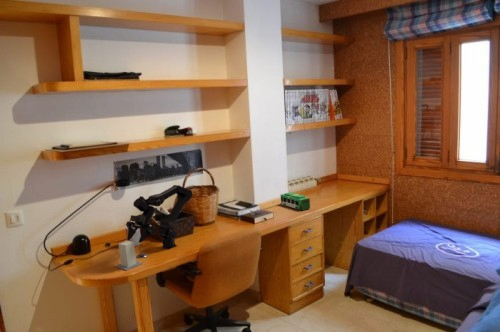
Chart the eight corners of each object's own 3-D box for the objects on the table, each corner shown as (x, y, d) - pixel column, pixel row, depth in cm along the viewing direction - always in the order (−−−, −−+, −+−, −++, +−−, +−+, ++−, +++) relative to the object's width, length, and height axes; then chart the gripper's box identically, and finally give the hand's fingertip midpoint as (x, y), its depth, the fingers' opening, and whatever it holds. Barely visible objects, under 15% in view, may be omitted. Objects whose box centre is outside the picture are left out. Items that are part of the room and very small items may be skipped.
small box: (126, 244, 250) (124, 227, 248) (135, 241, 253) (133, 225, 252) (133, 246, 244) (131, 230, 242) (141, 244, 248) (139, 227, 246)
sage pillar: (129, 261, 219) (126, 240, 217) (136, 263, 216) (133, 241, 214) (121, 265, 214) (118, 243, 212) (128, 267, 211) (125, 245, 209)
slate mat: (131, 260, 222) (131, 259, 222) (142, 264, 215) (142, 263, 215) (115, 266, 214) (115, 265, 214) (126, 270, 208) (126, 269, 208)
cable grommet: (143, 253, 231) (143, 252, 231) (149, 255, 227) (149, 254, 227) (134, 256, 227) (134, 256, 227) (140, 258, 223) (140, 258, 223)
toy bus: (292, 202, 323) (291, 190, 322) (310, 209, 299) (310, 196, 297) (280, 205, 319) (279, 192, 317) (298, 212, 295) (297, 199, 293)
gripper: (126, 207, 224) (112, 232, 217) (149, 210, 214) (135, 236, 206) (138, 216, 232) (125, 241, 224) (162, 220, 221) (149, 246, 214)
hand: (133, 241), depth 217 cm, fingers open, 9 cm apart
